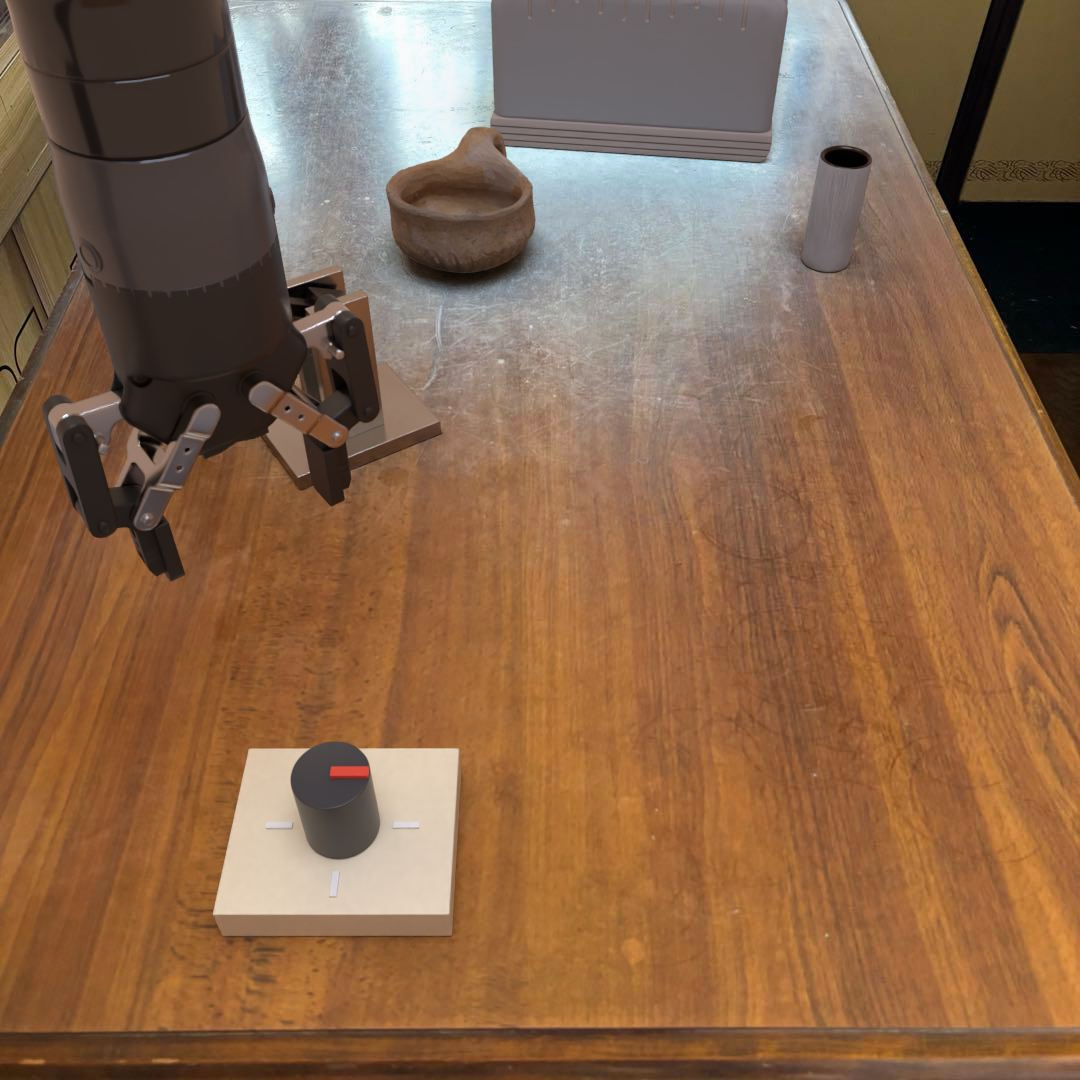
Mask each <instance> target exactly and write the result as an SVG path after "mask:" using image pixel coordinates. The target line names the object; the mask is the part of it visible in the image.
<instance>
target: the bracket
mask: <svg viewBox="0 0 1080 1080" xmlns="http://www.w3.org/2000/svg"><path fill="white" fill-rule="evenodd" d="M286 283H287V288H288V294H289V297H293V298H303V299H305V297H306V293H307V289H308V287H316V288H325V289H334V290H342V291H343V292H344V293H345V294H346V295H344V296H341V297H338V298H337V299H338V300H339V301H340V302H341V303H342V304H344V305H345V306H346V307H347V308H348V309H349V310H350V311H351V312H353V313H354V314H355V315H356V316H357V317H358V318H359V319H360V320H361V321H362V322H363V324H364V329H365V334H366V339H367V344H368V349H369V354H370V360H371V365H372V370H373V375H374V380H375V385H376V391H377V396H378V401H379V406H380V411H379V414H378V416H377V417H376V418H375V419H374V420H373V421H371V422H369V423H363V422H361V421H360V422H358V423H357V424H356V425H355V426H353V427H352V428H351V429H350V431H349V436H348V439H347V440H346V447H347V453H348V460H349V466H350V471H351V470H354V469H356V468H359V467H361V466H363V465H366V464H369V463H371V462H374V461H376V460H379V459H381V458H384V457H387V456H389V455H391V454H393V453H396V452H398V451H402V450H403V449H406V448H409V447H411V446H413V445H416V444H418V443H422V442H424V441H427V440H429V439H430V438H433V437H436V436H438V435H441V434H442V427H441V426H442V425H441V420H440V419H439V418H438V417H437V416H436V414H435V413H434V412H433V411H432V410H431V408H429V407H428V406H427V405H426V403H424V401H422V399H421V398H420V397H419V396H418V395H417V394H416V393H415V392H414V390H412V388H410V386H409V385H408V384H407V383H406V382H405V381H404V380H403V379H402V377H400V376H399V375H398V373H397V372H396V371H395V370H394V369H393V368H392V367H391V366H390V365H389V364H388V363H387V362H385V363H383V364H379V365H378V364H377V362H378V361H377V355H376V349H375V340H374V332H373V324H372V317H371V316H372V315H371V309H370V302H369V295H368V294H367V293H366V292H365V291H364V290H363V289H359V290H356V291H352V292H350V293H347V291H346V283H345V277H344V270H343V268H341V267H340V266H339V265H338V264H333V265H330V266H327V267H324V268H321V269H320V268H319V269H318V270H314V271H312V272H311V271H310V272H308V273H305V274H302V275H299V276H296V277H293V278H288V279H286ZM305 313H306V316H309V315H311V314H313V313H314V306H311V307H308V308H305ZM300 319H302V318H300V317H292V323H293V322H295V321H297V320H300ZM298 377H299V382H300V389H301V390H303V391H304V392H306V393H307V394H309V395H310V396H312V397H314V398H315V399H317V400H318V401H320V402H322V401H324V400H325V399H326V398H327V397H329V396H330V395H331V394H333V391H332V386H331V382H330V378H329V373H328V369H327V365H326V360H325V358H323V357H322V356H321V355H320V354H319V353H318V352H317V351H316V350H315V349H314V348H313V347H310V348H307V356H306V359H305V361H304V363H303V365H302V368H301V370H300V372H299V374H298ZM268 430H269V433H267V434H264V435H262V436H260V437H261V439H262V440H263V441H264V443H265V444H266V445H267V447H268V448H269V450H270V451H271V452H272V453H273V455H274V456H275V458H276V460H278V462H279V463H280V464H281V466H282V467H283V469H284V471H286V473H287V474H288V475H289V476H290V478H291V479H292V481H293V482H294V483H295V486H297V488H298V489H299V491H302V490H305V489H306V488H309V487H311V486H313V484H312V481H311V476H310V471H309V465H308V460H307V455H306V449H305V444H304V439H303V434H302V432H300V431H298V430H297V429H295V428H293V427H292V426H290V425H288V424H286V423H285V422H283V421H281V420H280V419H278V418H277V419H276V420H275V422H274V423H273V424H271V425H270V426H269V427H268Z"/></svg>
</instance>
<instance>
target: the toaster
mask: <svg viewBox="0 0 1080 1080" xmlns="http://www.w3.org/2000/svg"><path fill="white" fill-rule="evenodd" d="M788 4H789V1H788V0H491V1H490V18H491V19H490V21H491V53H492V54H491V57H492V78H493V79H492V81H493V83H492V84H493V85H492V86H493V87H492V88H493V112H492V115H491V117H490V122H489V124H490V126H489V128H493V129H495V130H497V131H498V132H499V133H500V134H501V136H502V137H503V140H504V143H505V146H508V147H509V146H512V147H525V148H539V149H540V148H541V149H553V150H571V151H583V152H584V151H586V152H599V153H600V152H601V153H614V154H615V153H617V154H628V155H630V154H632V155H645V156H659V157H661V156H662V157H675V158H677V157H678V158H690V159H692V158H693V159H707V160H722V161H736V162H751V163H752V162H753V163H762V162H764V160H765V159H766V158H767V156H768V155H769V154H770V152H771V147H772V143H773V116H774V115H773V114H774V108H775V101H776V95H777V89H778V81H779V75H780V68H781V63H782V56H783V51H784V50H783V49H784V42H785V35H786V29H787V22H788V15H789V10H788V9H789V7H788Z"/></svg>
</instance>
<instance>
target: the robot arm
mask: <svg viewBox="0 0 1080 1080" xmlns="http://www.w3.org/2000/svg"><path fill="white" fill-rule="evenodd" d="M5 3H6V4H5V5H6V6H7V9H8V12H9V17H10V20H11V21H10V22H11V24H12V28H13V29H12V30H13V34H14V36H15V39H16V43H17V46H18V49H19V50H18V51H19V53H20V57H21V59H22V63H23V65H24V69H25V72H26V75H27V78H28V81H29V84H30V87H31V90H32V94H33V97H34V101H35V103H36V106H37V109H38V113H39V115H40V118H41V119H40V120H41V122H42V125H43V128H44V130H45V134H46V139H47V143H48V147H49V152H50V156H51V160H52V169H53V174H54V181H55V184H56V186H55V187H56V190H57V196H58V198H59V202H60V207H61V209H62V213H63V216H64V219H65V222H66V224H67V227H68V231H69V234H70V237H71V240H72V243H73V246H74V249H75V252H76V256H77V258H78V261H79V265H80V267H81V270H82V275H83V277H84V280H85V282H86V287H87V289H88V292H89V295H90V298H91V301H92V304H93V307H94V310H95V314H96V316H97V320H98V323H99V325H100V329H101V331H102V335H103V338H104V341H105V344H106V347H107V351H108V353H109V356H110V359H111V363H112V366H113V375H112V381H111V383H110V388H109V391H107V392H104V393H101V394H98V395H94V396H91V397H88V398H84V399H81V400H79V401H75V402H73V401H72V400H71V399H70V398H69V397H68V396H66V395H63V394H54V395H51V396H49V397H47V398H46V399H45V401H44V402H43V403H42V406H41V413H42V416H43V419H44V423H45V426H46V429H47V432H48V435H49V438H50V442H51V445H52V447H53V448H52V449H53V452H54V455H55V458H56V461H57V464H58V468H59V471H60V474H61V478H62V480H63V484H64V487H65V490H66V493H67V496H68V500H69V503H70V504H71V506H72V507H73V508H74V510H75V511H76V512H78V514H79V516H80V517H81V518H82V520H83V522H84V523H85V527H86V528H87V530H88V531H89V533H90V534H91V535H92V537H94V538H97V539H104V538H105V539H106V538H108V537H110V536H112V535H113V534H114V533H115V532H116V531H117V529H124V528H125V529H128V530H129V533H130V536H131V538H132V542H133V545H134V548H135V550H136V553H137V555H138V556H139V558H140V559H141V560H142V563H144V565H145V567H146V568H147V569H148V571H149V572H150V573H151V574H153V575H154V576H155V577H159V576H161V575H163V574H164V575H165V576H166V578H167V579H168V580H169V582H174V581H176V580H179V579H180V578H182V577H184V576H186V572H185V569H184V566H183V563H182V560H181V557H180V556H181V555H180V554H179V550H178V547H177V544H176V540H175V538H174V535H173V532H172V528H171V526H170V522H169V521H168V520H167V518H166V516H165V515H164V514H165V511H166V509H167V507H168V506H169V503H170V501H171V498H173V497H172V496H173V494H174V492H176V491H181V490H182V489H183V488H184V487H185V485H186V483H187V481H188V478H189V477H190V474H191V472H192V471H193V468H194V466H195V464H196V461H197V459H198V457H199V456H202V457H203V458H204V460H208V459H210V458H213V457H215V456H217V455H219V454H222V453H223V452H224V451H226V450H228V449H229V448H230V447H232V446H233V445H235V444H237V443H239V442H246V441H251V440H255V439H258V438H260V437H261V436H262V435H264V434H267V433H269V430H268V427H269V426H270V425H271V424H273V423H274V422H275V420H276V419H277V418H278V419H280V420H281V421H283V422H285V423H286V424H288V425H290V426H292V427H293V428H295V429H297V430H298V431H300V432H302V434H303V439H304V444H305V449H306V455H307V460H308V465H309V471H310V476H311V481H312V484H313V485H312V486H313V488H314V490H315V491H316V492H317V493H318V495H319V496H321V498H322V499H323V500H324V501H325V502H326V504H327V505H328V506H330V507H334V506H336V505H338V504H340V503H342V502H345V500H346V498H345V491H344V490H347V489H349V488H350V486H351V483H352V474H351V470H350V466H349V460H348V453H347V447H346V440H347V439H348V436H349V431H350V429H351V428H352V427H353V426H355V425H356V424H357V423H358V422H360V421H361V422H363V423H369V422H371V421H373V420H374V419H375V418H376V417H377V416H378V414H379V411H380V406H379V401H378V396H377V391H376V385H375V380H374V375H373V370H372V365H371V360H370V354H369V349H368V344H367V339H366V334H365V329H364V324H363V322H362V321H361V320H360V319H359V318H358V317H357V316H356V315H355V314H354V313H353V312H351V311H350V310H349V309H348V308H347V307H346V306H345V305H344V304H342V303H341V302H340V301H339V300H338V299H337V298H336V297H334V296H333V295H331V294H325V295H322V296H321V297H320V298H318V299H317V301H316V303H315V305H314V313H313V314H311V315H309V316H306V317H304V318H302V319H300V320H297V321H295V322H293V323H292V311H291V305H290V300H289V294H288V288H287V283H286V280H287V278H286V273H285V267H284V261H283V255H282V249H281V244H280V239H279V234H278V233H279V232H278V228H277V221H276V217H275V214H276V200H275V197H274V192H273V190H272V189H273V188H272V187H271V186H270V183H269V177H268V173H267V168H266V164H265V161H264V156H263V154H262V153H263V152H262V150H261V147H260V143H259V141H258V138H257V135H256V132H255V130H254V129H255V128H254V126H253V123H252V119H251V115H250V110H249V107H248V104H247V103H248V102H247V97H246V96H247V95H246V90H245V86H244V79H243V75H242V69H241V63H240V58H239V54H238V53H239V52H238V47H237V41H236V36H235V31H234V25H233V20H232V16H231V11H230V10H231V9H230V6H229V1H228V0H5ZM310 347H313V348H314V349H315V350H316V351H317V352H318V353H319V354H320V355H321V356H322V357H323V358H325V360H326V365H327V369H328V373H329V378H330V382H331V386H332V391H333V394H331V395H330V396H329V397H327V398H326V399H325V400H324V401H322V402H320V401H318V400H317V399H315V398H314V397H312V396H310V395H309V394H307V393H306V392H304V391H303V390H302V388H301V387H298V386H297V385H296V384H295V382H296V380H297V379H298V377H299V372H300V370H301V368H302V365H303V363H304V361H305V359H306V356H307V348H310ZM122 421H125V422H126V423H127V424H128V425H129V426H131V427H133V428H132V430H131V432H130V435H129V438H128V440H127V442H126V453H127V455H126V460H125V463H124V464H123V467H122V469H121V472H120V473H119V476H118V478H117V480H116V482H115V485H114V486H112V487H109V484H108V480H107V477H106V472H105V470H104V466H103V463H102V459H101V458H102V457H101V455H103V456H104V455H106V454H107V453H109V451H110V444H111V443H112V431H113V429H114V427H115V426H116V425H117V424H119V423H120V422H122ZM163 444H165V445H166V446H167V447H166V450H165V449H164V445H163Z"/></svg>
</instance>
